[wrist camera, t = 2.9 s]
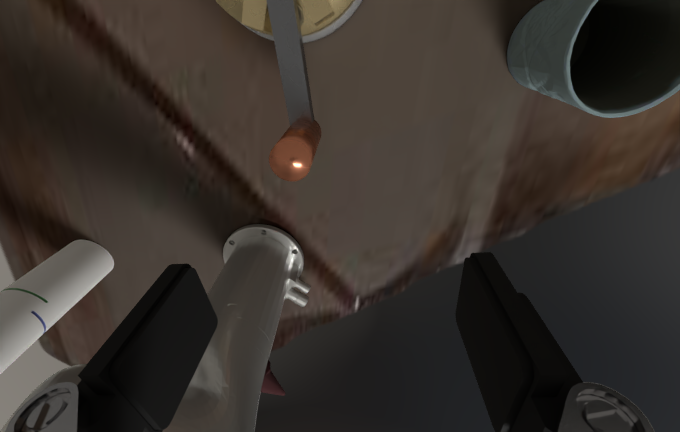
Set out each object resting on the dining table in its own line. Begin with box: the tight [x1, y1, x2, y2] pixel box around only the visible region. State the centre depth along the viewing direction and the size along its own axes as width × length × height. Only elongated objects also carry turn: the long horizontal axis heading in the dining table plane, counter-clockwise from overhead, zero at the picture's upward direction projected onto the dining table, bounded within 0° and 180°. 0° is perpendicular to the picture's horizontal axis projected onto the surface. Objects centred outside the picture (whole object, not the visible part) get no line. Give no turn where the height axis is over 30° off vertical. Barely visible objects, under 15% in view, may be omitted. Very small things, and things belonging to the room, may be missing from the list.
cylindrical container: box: [0, 240, 114, 374], centre depth 37 cm, size 7×7×25 cm
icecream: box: [261, 360, 285, 395], centre depth 58 cm, size 7×7×15 cm
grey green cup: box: [507, 0, 680, 118], centre depth 25 cm, size 10×10×12 cm
